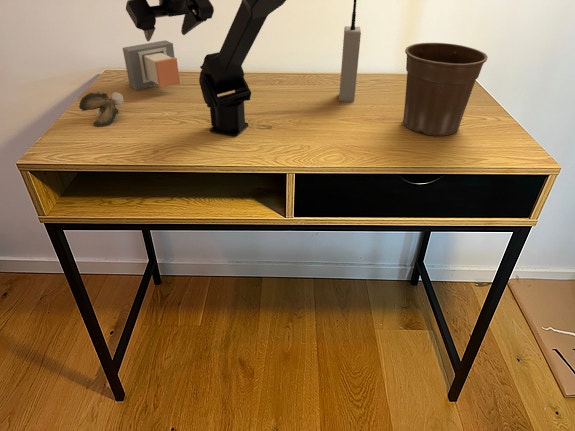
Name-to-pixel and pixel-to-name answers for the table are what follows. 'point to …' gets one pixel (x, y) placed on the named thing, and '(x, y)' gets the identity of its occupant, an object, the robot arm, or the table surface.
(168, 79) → the plunger
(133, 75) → the box
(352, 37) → the vintage mobile phone
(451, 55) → the plant pot
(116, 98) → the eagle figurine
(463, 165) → the table surface
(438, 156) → the table surface
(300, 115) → the table surface
